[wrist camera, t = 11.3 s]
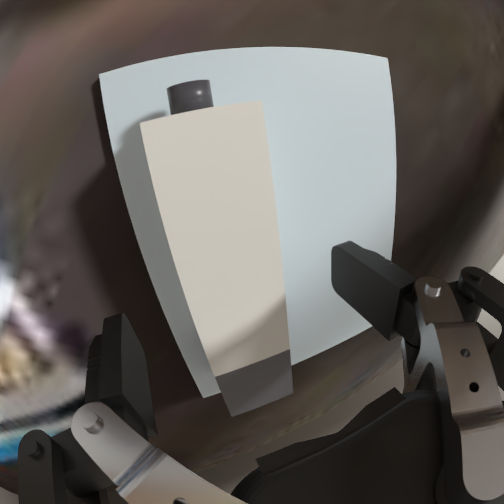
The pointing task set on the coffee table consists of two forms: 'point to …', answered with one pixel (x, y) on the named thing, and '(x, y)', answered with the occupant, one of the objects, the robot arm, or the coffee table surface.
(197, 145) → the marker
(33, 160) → the coffee table surface
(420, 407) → the robot arm
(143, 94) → the paper pad
